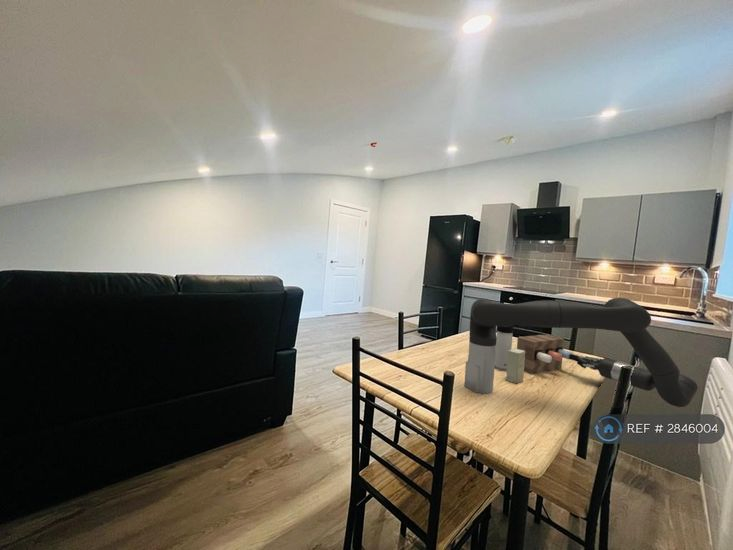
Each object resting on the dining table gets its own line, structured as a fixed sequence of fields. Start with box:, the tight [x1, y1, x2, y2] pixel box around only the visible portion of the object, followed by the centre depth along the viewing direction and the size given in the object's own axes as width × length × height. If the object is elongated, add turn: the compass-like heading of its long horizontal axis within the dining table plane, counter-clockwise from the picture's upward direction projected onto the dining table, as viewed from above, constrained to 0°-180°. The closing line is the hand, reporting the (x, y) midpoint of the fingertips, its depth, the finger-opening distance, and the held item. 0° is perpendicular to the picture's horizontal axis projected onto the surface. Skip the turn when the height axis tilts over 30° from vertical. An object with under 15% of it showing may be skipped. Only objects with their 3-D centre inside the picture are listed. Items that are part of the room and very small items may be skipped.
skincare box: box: [505, 347, 525, 384], centre depth 116 cm, size 6×4×12 cm
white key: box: [537, 352, 552, 363], centre depth 122 cm, size 3×4×3 cm
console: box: [516, 333, 565, 375], centre depth 131 cm, size 20×8×14 cm, turn 114°
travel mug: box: [494, 325, 515, 372], centre depth 128 cm, size 6×7×20 cm
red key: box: [547, 351, 563, 361], centre depth 125 cm, size 3×4×3 cm
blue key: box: [558, 349, 573, 360], centre depth 128 cm, size 3×4×3 cm
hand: (570, 356), depth 126 cm, fingers closed
